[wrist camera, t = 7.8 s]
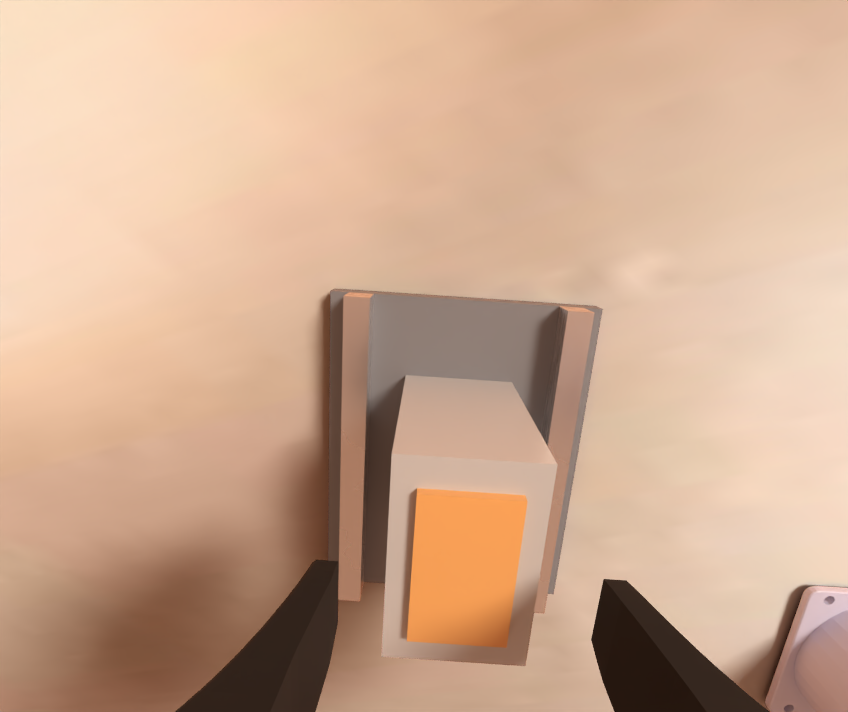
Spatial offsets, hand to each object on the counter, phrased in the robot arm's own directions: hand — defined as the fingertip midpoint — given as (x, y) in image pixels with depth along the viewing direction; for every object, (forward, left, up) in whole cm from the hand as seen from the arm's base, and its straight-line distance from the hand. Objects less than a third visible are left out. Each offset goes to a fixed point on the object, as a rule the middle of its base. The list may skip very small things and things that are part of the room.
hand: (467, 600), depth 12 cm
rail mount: (0, 0, -9) cm, 9 cm away
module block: (0, 0, -8) cm, 8 cm away
